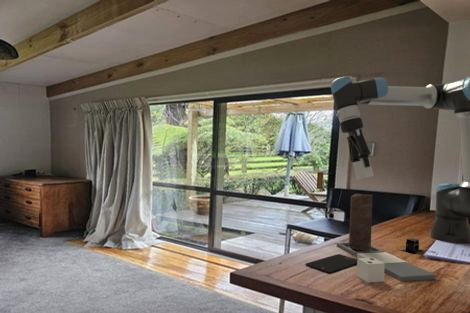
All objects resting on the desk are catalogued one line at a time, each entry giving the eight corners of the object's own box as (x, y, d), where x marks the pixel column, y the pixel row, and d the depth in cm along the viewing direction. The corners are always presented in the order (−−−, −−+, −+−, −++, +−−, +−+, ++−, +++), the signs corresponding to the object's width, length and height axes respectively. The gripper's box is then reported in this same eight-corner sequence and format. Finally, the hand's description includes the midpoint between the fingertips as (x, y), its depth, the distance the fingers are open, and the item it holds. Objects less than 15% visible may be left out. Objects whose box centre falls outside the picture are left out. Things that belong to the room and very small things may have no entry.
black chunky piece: (414, 257, 119) (415, 244, 119) (393, 252, 124) (394, 239, 124) (429, 251, 127) (430, 239, 127) (409, 246, 132) (409, 234, 132)
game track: (363, 245, 130) (363, 242, 130) (435, 278, 97) (435, 274, 97) (336, 246, 128) (336, 242, 127) (401, 281, 94) (401, 276, 94)
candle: (363, 254, 118) (366, 195, 117) (344, 249, 123) (346, 193, 123) (374, 251, 123) (377, 194, 122) (355, 246, 128) (357, 192, 128)
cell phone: (363, 263, 110) (363, 260, 110) (329, 275, 98) (329, 272, 98) (338, 256, 116) (338, 253, 116) (304, 266, 105) (304, 263, 105)
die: (372, 275, 99) (373, 257, 99) (383, 281, 94) (384, 263, 94) (356, 276, 97) (357, 257, 97) (367, 282, 93) (368, 263, 92)
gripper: (334, 128, 137) (347, 181, 135) (345, 114, 113) (361, 178, 110) (354, 124, 137) (367, 177, 134) (369, 109, 112) (385, 173, 109)
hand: (364, 178), depth 122 cm, fingers open, 13 cm apart
